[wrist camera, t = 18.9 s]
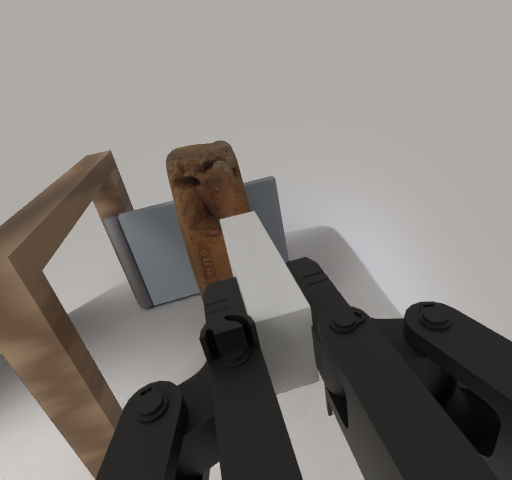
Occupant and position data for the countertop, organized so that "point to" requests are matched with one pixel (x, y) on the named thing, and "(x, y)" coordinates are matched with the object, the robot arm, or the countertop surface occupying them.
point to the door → (178, 244)
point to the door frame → (58, 307)
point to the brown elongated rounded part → (206, 204)
